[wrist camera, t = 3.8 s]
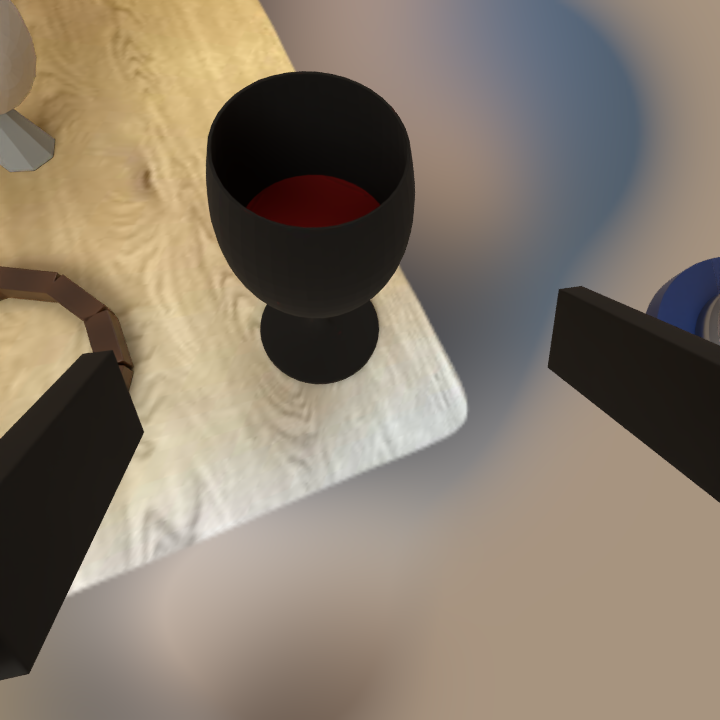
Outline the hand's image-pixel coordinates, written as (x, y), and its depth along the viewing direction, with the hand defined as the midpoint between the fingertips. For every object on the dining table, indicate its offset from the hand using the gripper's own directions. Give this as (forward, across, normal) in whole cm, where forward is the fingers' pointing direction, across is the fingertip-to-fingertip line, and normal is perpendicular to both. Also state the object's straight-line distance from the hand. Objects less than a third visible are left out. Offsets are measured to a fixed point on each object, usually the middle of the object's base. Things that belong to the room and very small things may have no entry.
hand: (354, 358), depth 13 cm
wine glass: (+23, 0, +8) cm, 25 cm away
